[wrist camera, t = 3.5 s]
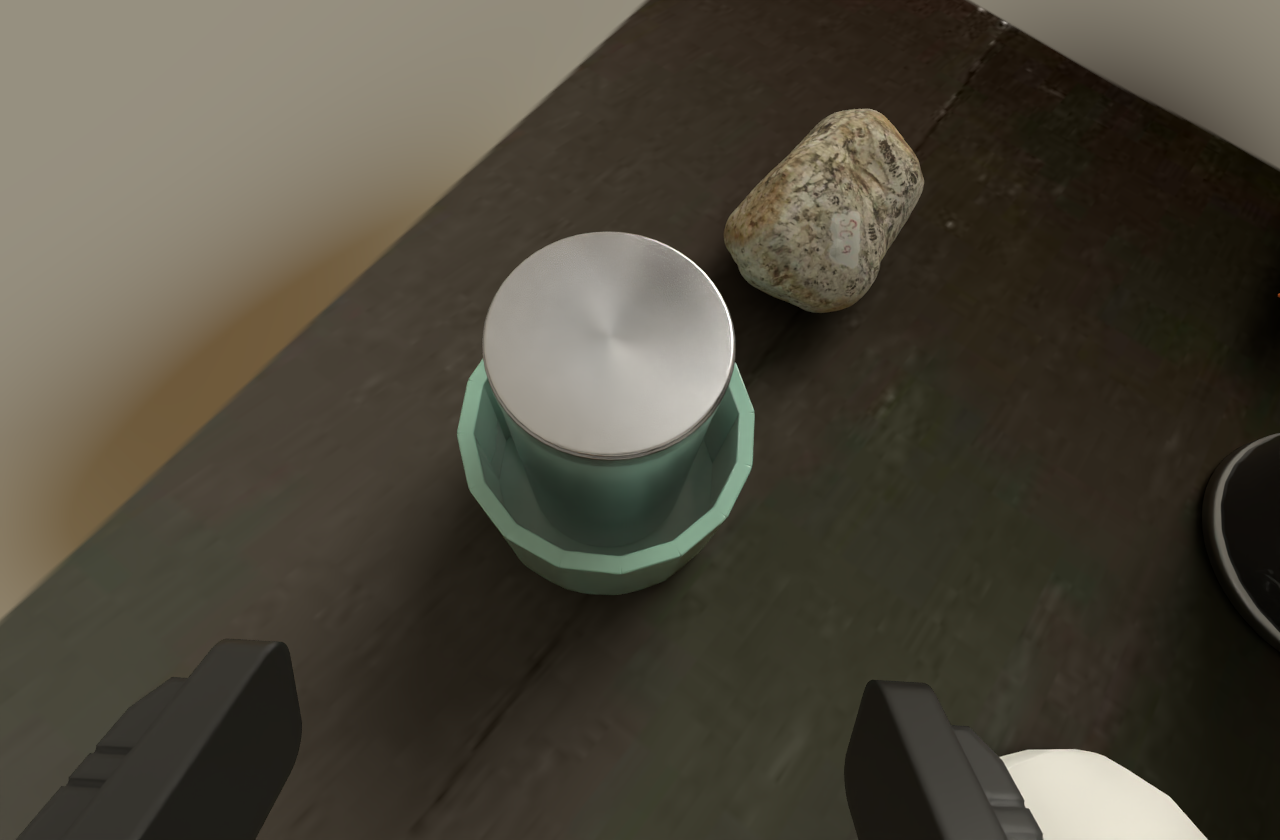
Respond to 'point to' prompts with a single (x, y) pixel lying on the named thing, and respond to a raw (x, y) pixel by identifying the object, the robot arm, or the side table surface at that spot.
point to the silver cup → (608, 378)
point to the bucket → (600, 568)
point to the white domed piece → (1094, 798)
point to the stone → (827, 213)
